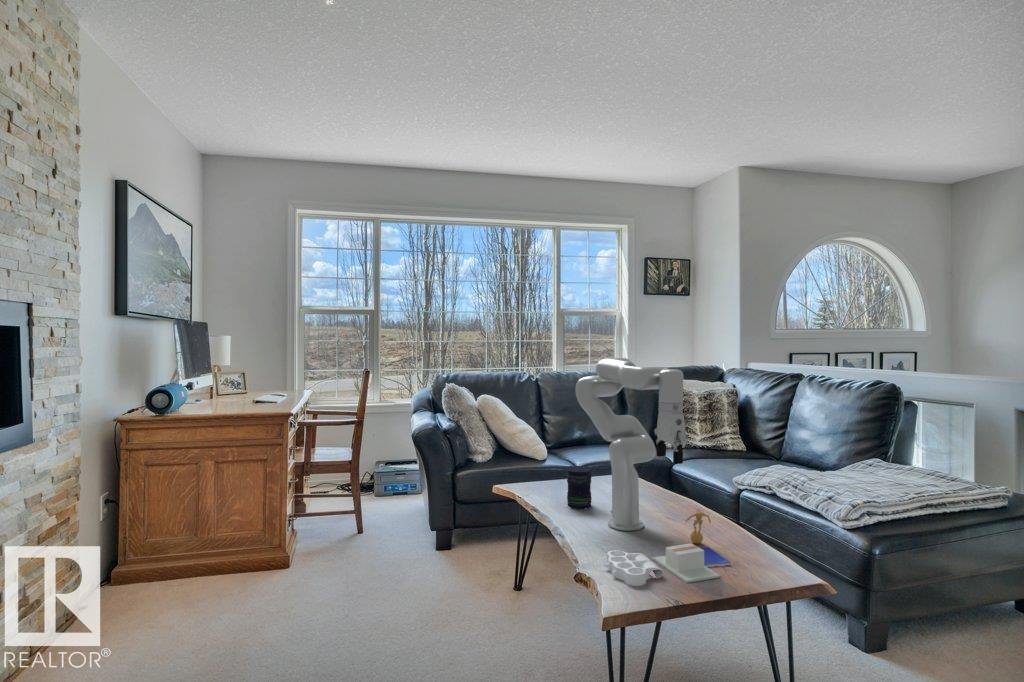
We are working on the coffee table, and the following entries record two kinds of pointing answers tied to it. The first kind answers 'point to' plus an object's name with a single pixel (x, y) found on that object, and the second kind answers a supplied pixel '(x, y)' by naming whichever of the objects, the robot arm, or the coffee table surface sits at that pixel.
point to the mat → (689, 572)
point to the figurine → (696, 535)
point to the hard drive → (713, 558)
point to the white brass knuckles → (631, 567)
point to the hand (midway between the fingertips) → (669, 459)
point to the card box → (684, 557)
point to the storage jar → (579, 487)
